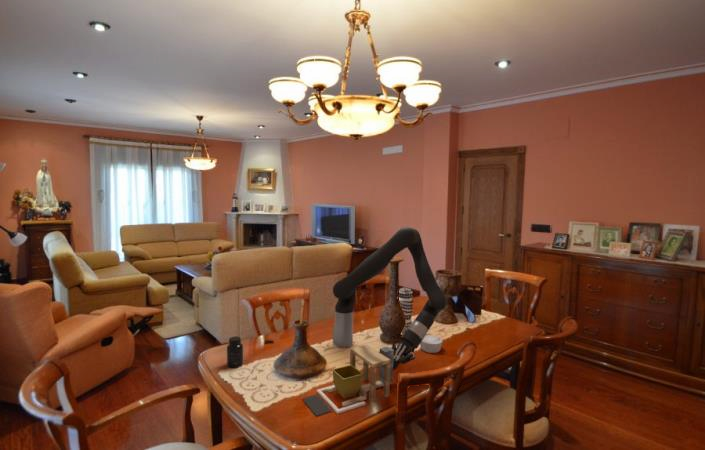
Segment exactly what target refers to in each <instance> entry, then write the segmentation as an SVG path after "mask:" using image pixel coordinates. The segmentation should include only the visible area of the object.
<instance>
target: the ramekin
mask: <svg viewBox="0 0 705 450" xmlns="http://www.w3.org/2000/svg"><path fill="white" fill-rule="evenodd" d="M442 345H443V338H441V337H440V336H438V335H433V334H432V335H431V334H426V336H425V337H424V339H423V340H422V342H421V343H420V345H419V346H420V349H421V350H422V351H423V352H425V353H429V354H436V353H439V352H441V348H442Z"/></svg>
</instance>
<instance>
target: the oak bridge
mask: <svg viewBox="0 0 705 450" xmlns="http://www.w3.org/2000/svg"><path fill="white" fill-rule="evenodd" d="M349 352H350V355H349V365H352V366H354V367H355V368H356V360H357V357H358V358H359V359H360V360H362V366H363V367H362V373H363V377H362V381H365V382H366V381H369V384H370V390H369V394H368V395H369V399H368V400H369V402H371V403H374V402H376V393H377V391H376V389H377V388H376V381H377V367H379V366H380V365H384V386H383V392H382V394H383V395H382V396H383V397H384V398H389V397H390V385H391V384H390V359H389V358H387V357H386V356H384V355H382V354H381V353H380V351H378V350H376V349H375V348H373V347H372V346H370V345H369V344H364V345H359V346H355V347H351V348H350V349H349ZM369 367H370V368H369Z"/></svg>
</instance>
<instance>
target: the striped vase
mask: <svg viewBox="0 0 705 450" xmlns="http://www.w3.org/2000/svg"><path fill="white" fill-rule="evenodd" d="M399 301H400V306H401V308H402V310H403V313H404V315H405V320H406V323H405V328H404V330H403V332H402V335H404V333H405V332H406V330H407V329H408V328H409V326H410V325H411V324H412V322H413V321H412V314H413V309H414V308H413V306H414V305H413V303H414V298H413V291H412V290H411V288H408V287H400V288H399Z"/></svg>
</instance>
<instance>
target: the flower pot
mask: <svg viewBox="0 0 705 450" xmlns="http://www.w3.org/2000/svg"><path fill="white" fill-rule="evenodd" d="M331 372H332V379H333V380H332V381H333V385H335V388H336V390H335V391H337V393H338V394H339V395H340V397H342V398H343V399H348V398H351V397H354V396H357V394H358V391H359V390H360V387H361V386H362V381H363V371H360V370H359V369H358V368H357V367H356V366H355V367H354V366H352V365H350V364H348V365H344V366H341V367H337V368H332V371H331Z"/></svg>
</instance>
